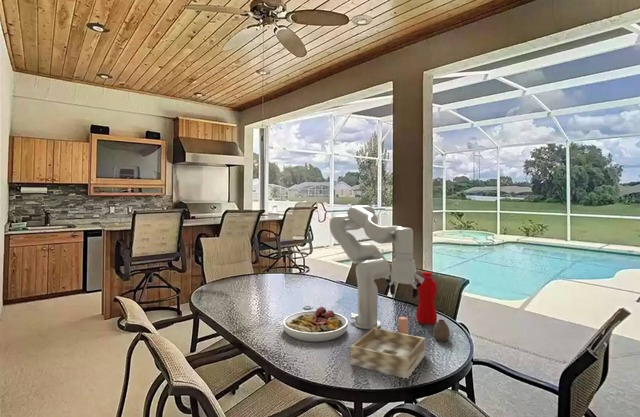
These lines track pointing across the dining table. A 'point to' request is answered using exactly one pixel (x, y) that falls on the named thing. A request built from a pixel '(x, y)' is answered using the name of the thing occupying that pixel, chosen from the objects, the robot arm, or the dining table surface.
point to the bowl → (315, 325)
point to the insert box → (388, 352)
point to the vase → (441, 331)
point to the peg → (403, 325)
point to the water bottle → (427, 300)
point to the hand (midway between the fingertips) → (403, 295)
